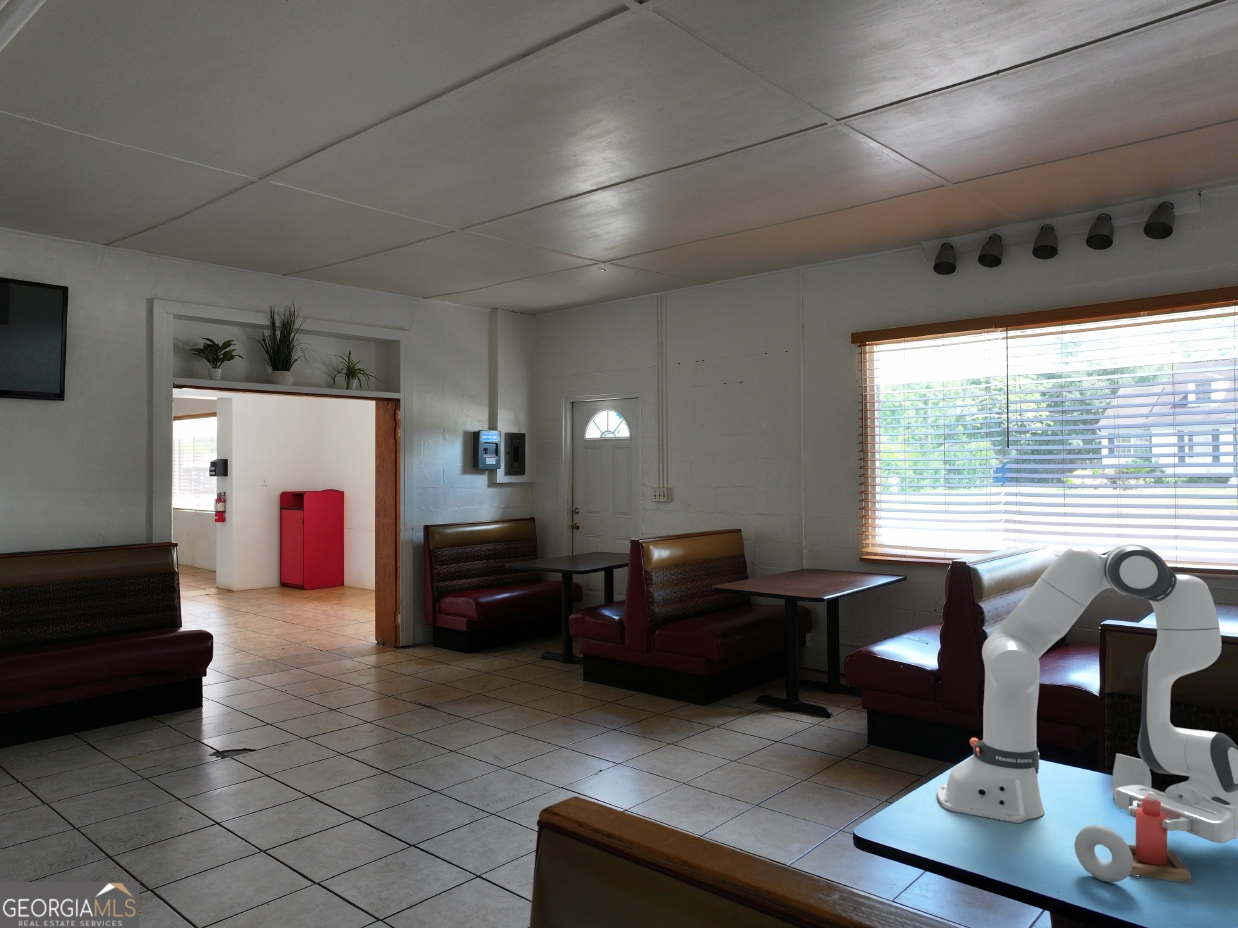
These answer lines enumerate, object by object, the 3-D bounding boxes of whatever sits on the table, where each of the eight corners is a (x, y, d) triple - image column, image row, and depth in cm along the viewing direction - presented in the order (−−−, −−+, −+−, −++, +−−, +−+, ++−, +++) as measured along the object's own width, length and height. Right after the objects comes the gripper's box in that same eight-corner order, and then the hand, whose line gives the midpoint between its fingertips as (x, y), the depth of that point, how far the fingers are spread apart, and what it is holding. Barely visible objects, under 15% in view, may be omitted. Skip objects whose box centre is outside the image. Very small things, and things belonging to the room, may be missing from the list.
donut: (1136, 887, 154) (1136, 833, 154) (1129, 893, 151) (1129, 838, 151) (1078, 867, 161) (1079, 815, 161) (1071, 872, 159) (1071, 820, 159)
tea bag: (1144, 807, 190) (1144, 763, 190) (1112, 797, 196) (1112, 755, 196) (1151, 803, 193) (1151, 759, 193) (1119, 793, 198) (1119, 751, 198)
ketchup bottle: (1143, 865, 159) (1143, 797, 159) (1130, 852, 165) (1130, 787, 165) (1172, 866, 159) (1172, 798, 159) (1158, 854, 164) (1158, 788, 164)
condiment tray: (1129, 875, 158) (1129, 865, 158) (1114, 852, 168) (1114, 843, 168) (1190, 883, 155) (1190, 873, 155) (1172, 859, 165) (1172, 850, 165)
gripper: (1138, 773, 177) (1096, 784, 171) (1246, 809, 159) (1204, 823, 152) (1137, 803, 177) (1096, 815, 171) (1246, 842, 159) (1204, 857, 152)
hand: (1148, 819), depth 161 cm, fingers closed on ketchup bottle, 5 cm apart
